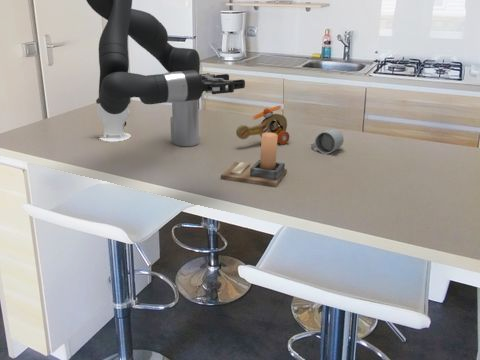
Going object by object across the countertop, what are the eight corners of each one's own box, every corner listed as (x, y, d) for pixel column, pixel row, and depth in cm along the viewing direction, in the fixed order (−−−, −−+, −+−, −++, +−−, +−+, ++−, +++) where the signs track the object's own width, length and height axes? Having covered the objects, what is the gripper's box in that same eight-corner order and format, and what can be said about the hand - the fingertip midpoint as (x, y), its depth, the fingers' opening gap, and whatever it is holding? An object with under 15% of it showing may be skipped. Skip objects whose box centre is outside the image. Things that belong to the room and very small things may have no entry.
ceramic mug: (344, 149, 171) (345, 128, 168) (334, 156, 164) (335, 134, 162) (316, 144, 176) (318, 124, 173) (306, 150, 170) (307, 129, 167)
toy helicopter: (291, 143, 177) (293, 106, 172) (243, 152, 167) (244, 113, 161) (278, 137, 183) (280, 101, 178) (231, 146, 173) (231, 108, 168)
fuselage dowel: (257, 174, 144) (259, 135, 140) (262, 169, 148) (264, 131, 144) (272, 177, 143) (274, 138, 138) (276, 171, 147) (279, 133, 142)
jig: (220, 178, 144) (220, 167, 143) (234, 165, 155) (234, 154, 153) (275, 187, 139) (276, 175, 138) (286, 172, 149) (287, 161, 148)
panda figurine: (135, 133, 186) (132, 94, 181) (129, 142, 176) (126, 101, 170) (103, 133, 186) (99, 94, 180) (96, 142, 175) (91, 101, 170)
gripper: (191, 76, 115) (250, 70, 122) (168, 67, 126) (223, 62, 134) (192, 107, 118) (249, 100, 125) (169, 95, 129) (223, 89, 137)
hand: (236, 80), depth 130 cm, fingers open, 8 cm apart
